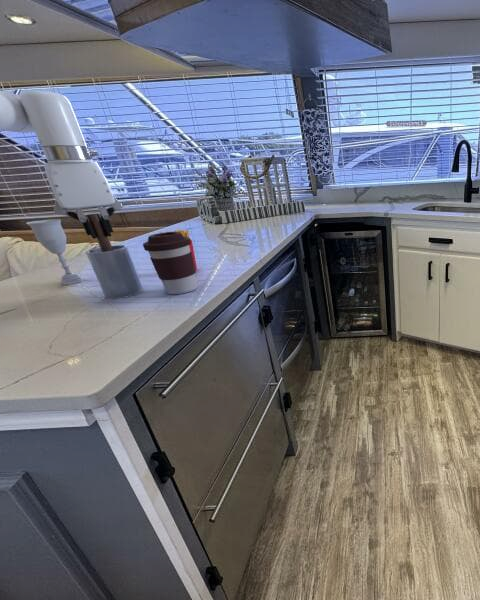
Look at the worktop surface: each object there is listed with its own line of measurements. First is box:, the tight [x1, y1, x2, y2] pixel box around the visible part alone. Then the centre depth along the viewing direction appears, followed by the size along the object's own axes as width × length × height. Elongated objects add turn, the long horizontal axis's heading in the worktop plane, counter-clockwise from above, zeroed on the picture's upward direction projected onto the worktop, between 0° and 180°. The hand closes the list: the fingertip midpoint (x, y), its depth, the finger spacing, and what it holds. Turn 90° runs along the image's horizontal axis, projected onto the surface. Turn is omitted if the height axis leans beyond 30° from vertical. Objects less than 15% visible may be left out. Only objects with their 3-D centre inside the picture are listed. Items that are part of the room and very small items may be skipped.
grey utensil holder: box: [85, 244, 144, 299], centre depth 83 cm, size 8×8×12 cm
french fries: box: [159, 229, 198, 271], centre depth 99 cm, size 9×4×13 cm, turn 137°
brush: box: [86, 212, 113, 252], centre depth 81 cm, size 4×4×18 cm
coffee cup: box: [142, 231, 199, 295], centre depth 83 cm, size 10×10×15 cm
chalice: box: [26, 218, 85, 286], centre depth 93 cm, size 7×7×18 cm
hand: (101, 236), depth 80 cm, fingers closed on brush, 2 cm apart
